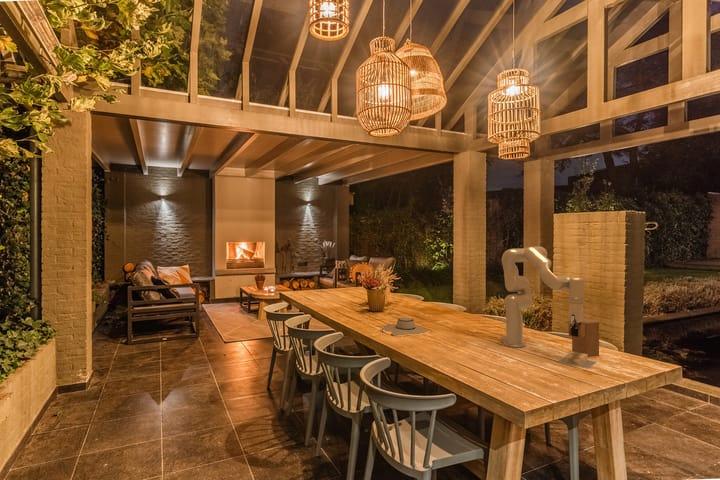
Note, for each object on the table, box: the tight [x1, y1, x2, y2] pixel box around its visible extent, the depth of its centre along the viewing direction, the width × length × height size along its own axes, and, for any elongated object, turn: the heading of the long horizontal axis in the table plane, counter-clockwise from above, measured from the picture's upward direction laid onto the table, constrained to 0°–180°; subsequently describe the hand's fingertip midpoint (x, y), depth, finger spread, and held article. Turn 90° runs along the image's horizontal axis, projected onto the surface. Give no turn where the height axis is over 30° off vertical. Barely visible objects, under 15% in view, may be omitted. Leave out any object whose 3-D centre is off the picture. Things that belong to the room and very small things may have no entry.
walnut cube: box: [568, 323, 585, 338], centre depth 210 cm, size 6×6×6 cm
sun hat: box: [381, 317, 429, 335], centre depth 288 cm, size 36×36×9 cm
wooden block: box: [571, 317, 600, 358], centre depth 225 cm, size 10×10×20 cm
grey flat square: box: [557, 356, 597, 370], centre depth 210 cm, size 15×15×1 cm
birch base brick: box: [565, 350, 589, 365], centre depth 210 cm, size 8×8×4 cm
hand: (576, 334), depth 210 cm, fingers closed on walnut cube, 6 cm apart
